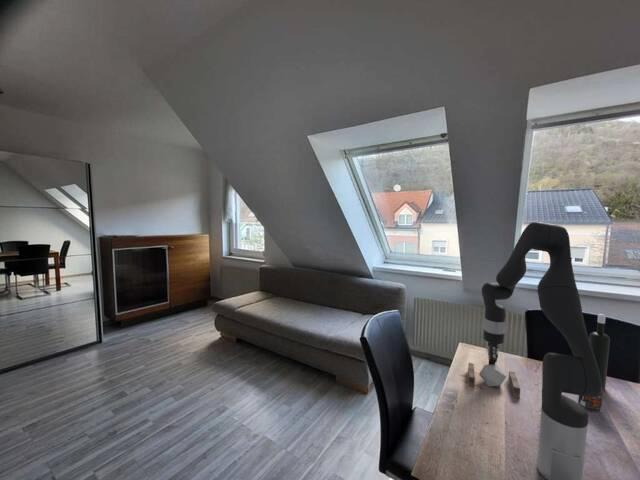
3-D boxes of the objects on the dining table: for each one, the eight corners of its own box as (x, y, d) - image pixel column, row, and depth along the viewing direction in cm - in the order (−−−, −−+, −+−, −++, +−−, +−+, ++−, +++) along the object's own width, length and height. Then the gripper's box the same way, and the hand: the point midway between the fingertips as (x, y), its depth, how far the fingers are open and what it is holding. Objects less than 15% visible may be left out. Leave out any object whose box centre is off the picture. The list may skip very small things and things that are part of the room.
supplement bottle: (583, 411, 100) (586, 381, 99) (574, 400, 106) (577, 371, 104) (605, 414, 98) (608, 383, 97) (594, 403, 104) (597, 374, 103)
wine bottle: (581, 383, 116) (588, 312, 113) (590, 380, 118) (597, 310, 115) (599, 392, 110) (607, 317, 107) (608, 388, 112) (615, 315, 109)
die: (504, 395, 110) (513, 372, 112) (484, 383, 111) (493, 360, 113) (491, 389, 118) (500, 367, 120) (472, 378, 119) (481, 356, 121)
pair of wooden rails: (519, 398, 107) (520, 388, 107) (468, 386, 114) (469, 377, 114) (514, 381, 118) (514, 372, 117) (468, 371, 125) (468, 362, 125)
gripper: (507, 337, 110) (504, 379, 112) (502, 325, 122) (499, 363, 124) (484, 334, 114) (482, 374, 116) (482, 322, 125) (480, 359, 127)
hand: (491, 368), depth 120 cm, fingers closed
